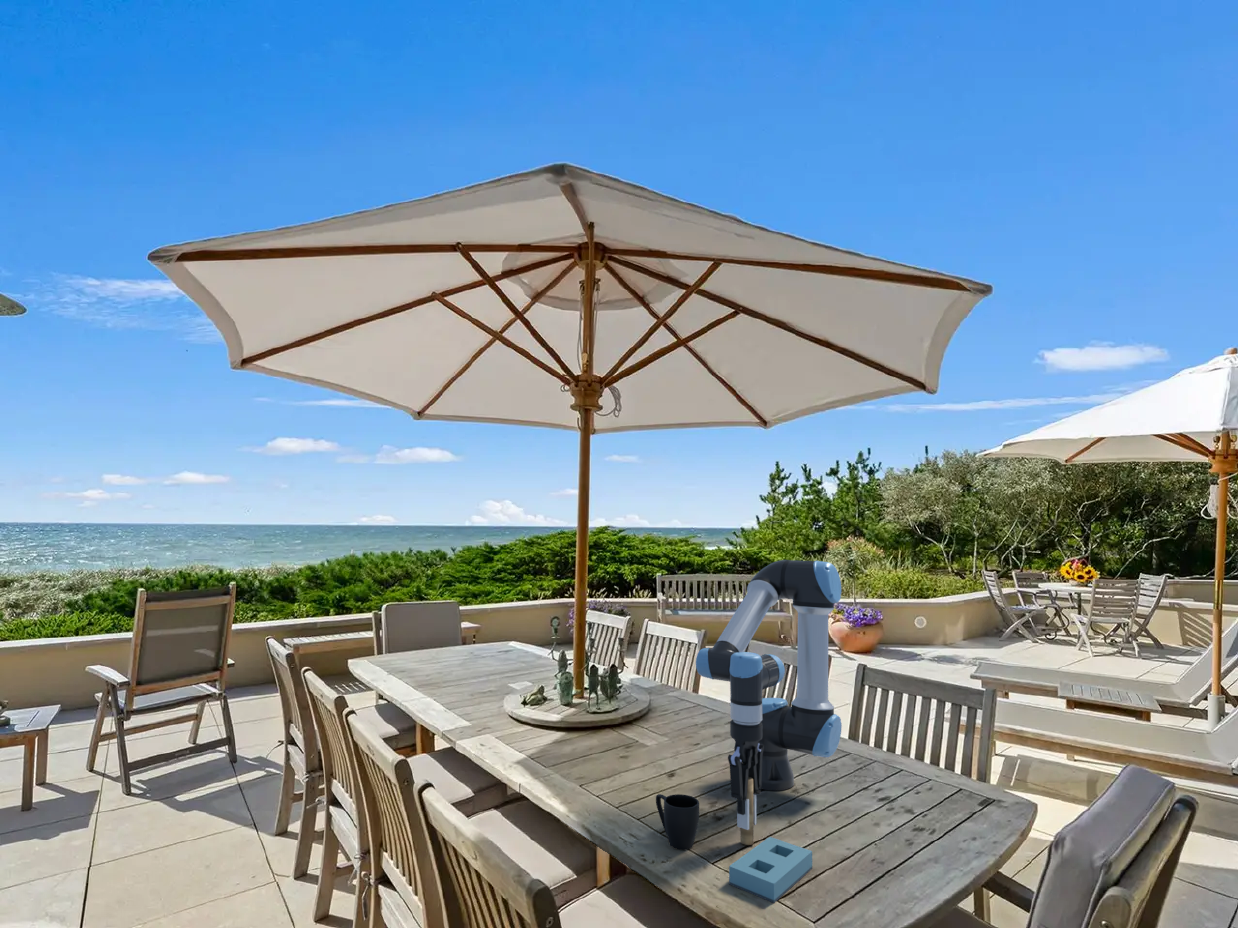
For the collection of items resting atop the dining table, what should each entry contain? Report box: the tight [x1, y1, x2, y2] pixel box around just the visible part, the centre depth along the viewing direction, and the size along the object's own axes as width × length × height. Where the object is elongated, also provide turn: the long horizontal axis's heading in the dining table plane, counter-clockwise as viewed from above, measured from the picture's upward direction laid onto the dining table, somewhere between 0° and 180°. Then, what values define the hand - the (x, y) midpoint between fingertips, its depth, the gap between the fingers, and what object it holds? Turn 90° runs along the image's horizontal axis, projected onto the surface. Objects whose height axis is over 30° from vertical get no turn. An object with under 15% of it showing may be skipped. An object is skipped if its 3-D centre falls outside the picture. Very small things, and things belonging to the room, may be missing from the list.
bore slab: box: [728, 836, 813, 904], centre depth 134 cm, size 18×10×4 cm, turn 140°
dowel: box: [739, 777, 755, 846], centre depth 149 cm, size 3×3×14 cm
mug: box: [655, 793, 700, 851], centre depth 149 cm, size 8×12×10 cm
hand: (746, 824), depth 149 cm, fingers closed on dowel, 3 cm apart
